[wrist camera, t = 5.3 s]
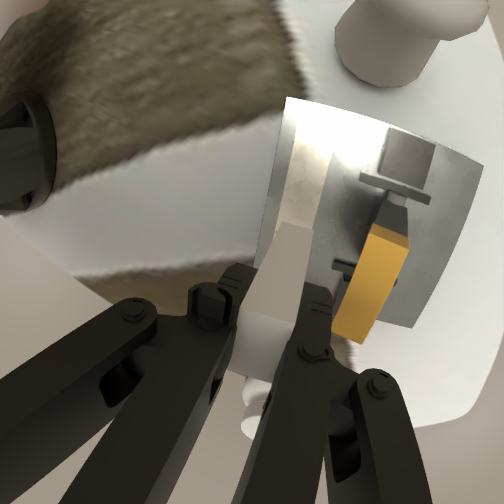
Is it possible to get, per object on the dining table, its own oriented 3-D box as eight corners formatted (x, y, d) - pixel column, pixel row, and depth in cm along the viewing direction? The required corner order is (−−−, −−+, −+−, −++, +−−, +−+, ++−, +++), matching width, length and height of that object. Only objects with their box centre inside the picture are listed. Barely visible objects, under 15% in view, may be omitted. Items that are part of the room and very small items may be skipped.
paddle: (357, 268, 19) (325, 337, 13) (386, 188, 16) (373, 220, 10) (379, 277, 19) (357, 352, 12) (410, 197, 16) (413, 237, 9)
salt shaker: (427, 82, 14) (543, 54, 3) (354, 100, 16) (400, 68, 5) (392, 10, 12) (451, -89, 1) (319, 27, 14) (298, -85, 3)
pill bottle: (344, 335, 25) (338, 440, 15) (295, 361, 28) (273, 456, 18) (299, 292, 24) (274, 400, 14) (252, 325, 27) (212, 421, 17)
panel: (255, 272, 24) (245, 292, 22) (291, 99, 17) (284, 95, 15) (407, 313, 22) (413, 336, 20) (471, 160, 15) (490, 168, 13)
